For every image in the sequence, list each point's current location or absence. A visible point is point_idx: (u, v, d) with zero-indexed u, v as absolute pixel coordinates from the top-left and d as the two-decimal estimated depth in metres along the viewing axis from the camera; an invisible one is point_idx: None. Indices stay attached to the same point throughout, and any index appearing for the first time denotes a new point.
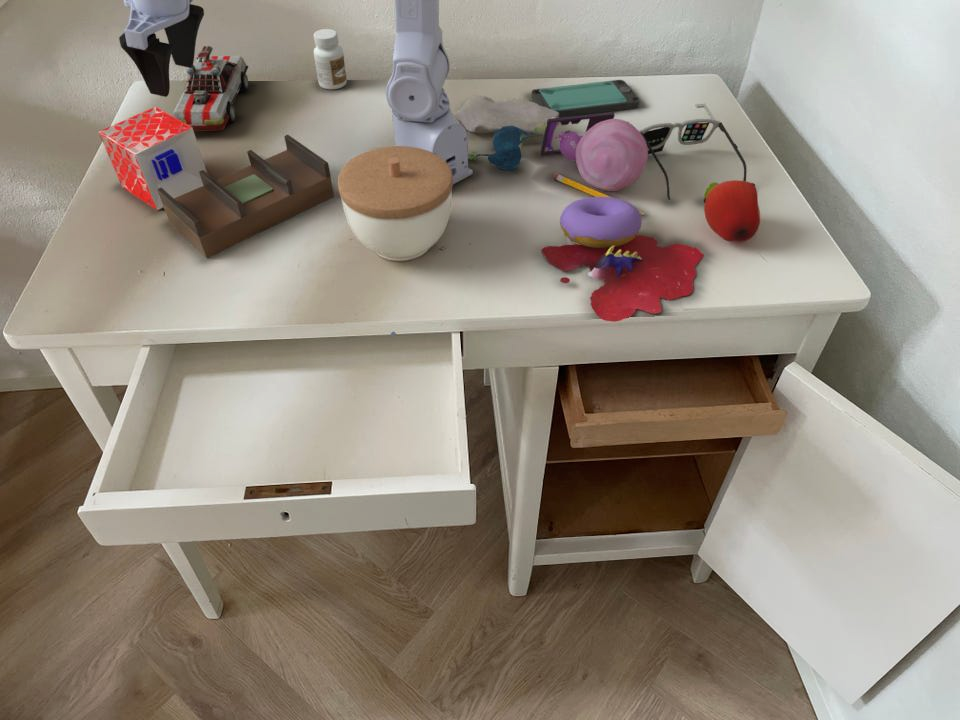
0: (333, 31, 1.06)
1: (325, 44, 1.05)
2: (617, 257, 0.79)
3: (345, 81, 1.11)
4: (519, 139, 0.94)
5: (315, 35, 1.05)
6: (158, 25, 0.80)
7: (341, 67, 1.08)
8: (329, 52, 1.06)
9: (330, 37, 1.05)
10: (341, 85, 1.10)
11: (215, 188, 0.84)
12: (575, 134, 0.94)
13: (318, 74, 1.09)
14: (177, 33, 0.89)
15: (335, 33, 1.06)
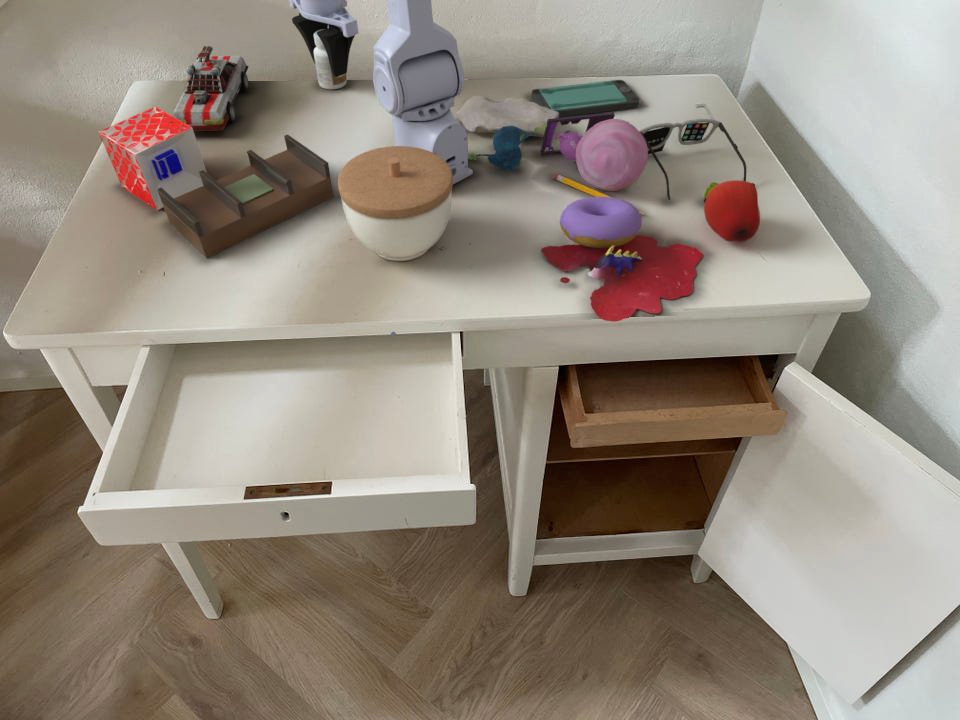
0: None
1: None
2: (617, 257, 0.79)
3: (345, 81, 1.11)
4: (519, 139, 0.94)
5: (315, 35, 1.05)
6: (294, 1, 1.04)
7: None
8: None
9: None
10: (341, 85, 1.10)
11: (215, 188, 0.84)
12: (575, 134, 0.94)
13: (318, 74, 1.09)
14: None
15: None
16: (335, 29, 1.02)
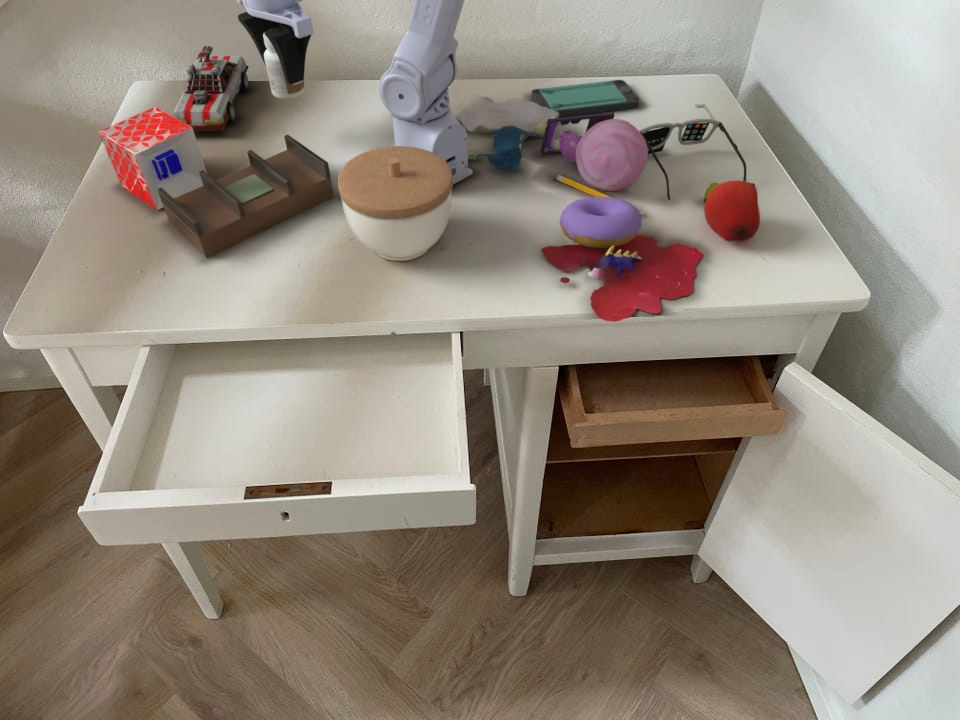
0: None
1: None
2: (617, 257, 0.79)
3: (302, 89, 0.94)
4: (519, 139, 0.94)
5: (264, 35, 0.89)
6: None
7: None
8: None
9: None
10: (297, 94, 0.94)
11: (215, 188, 0.84)
12: (575, 134, 0.94)
13: (270, 81, 0.93)
14: None
15: None
16: (286, 28, 0.85)
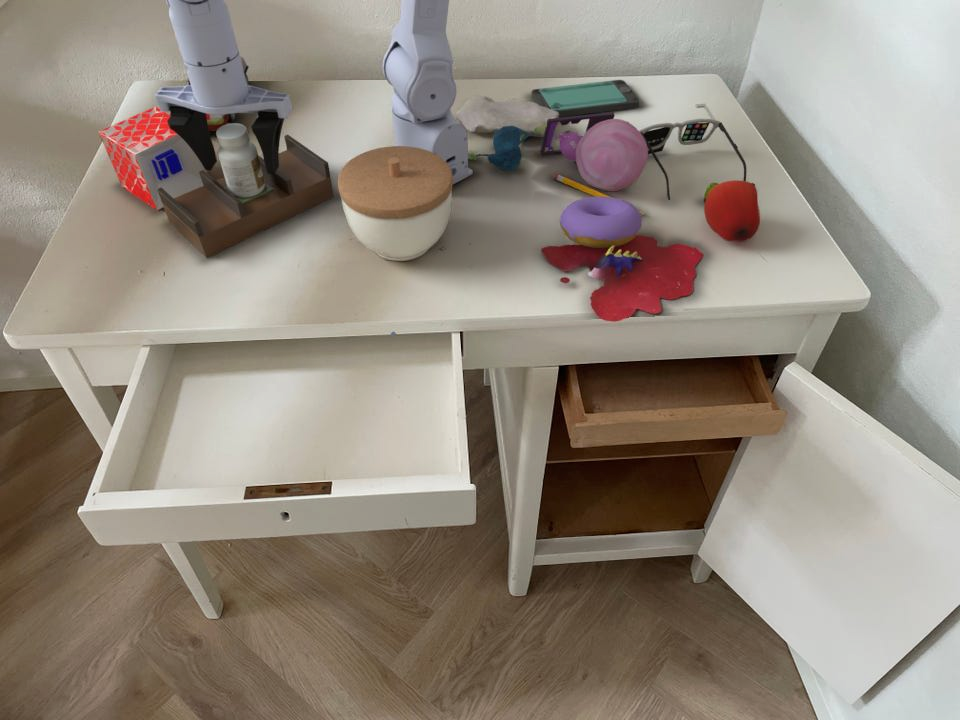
0: (237, 124, 0.82)
1: (242, 143, 0.81)
2: (617, 257, 0.79)
3: (263, 179, 0.87)
4: (519, 139, 0.94)
5: (222, 137, 0.80)
6: (177, 100, 0.77)
7: None
8: (246, 151, 0.82)
9: (243, 132, 0.81)
10: (264, 185, 0.86)
11: (215, 188, 0.84)
12: (575, 134, 0.94)
13: (235, 183, 0.84)
14: None
15: (242, 126, 0.82)
16: (273, 115, 0.78)
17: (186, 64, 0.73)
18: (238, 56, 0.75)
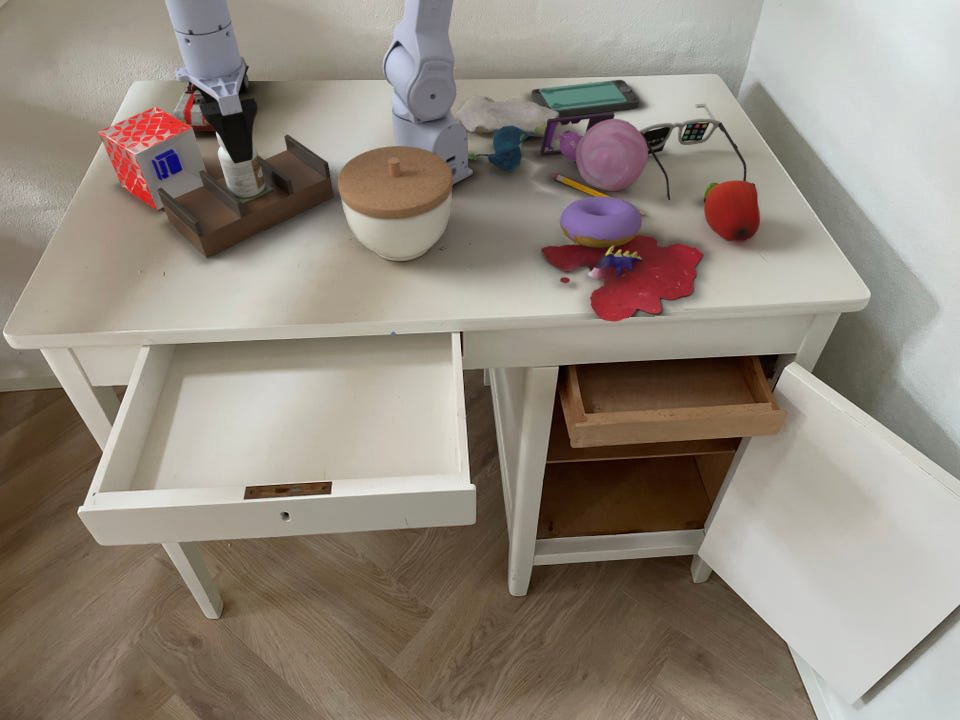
0: None
1: None
2: (617, 257, 0.79)
3: (263, 179, 0.87)
4: (519, 139, 0.94)
5: None
6: (238, 82, 0.73)
7: None
8: None
9: None
10: (264, 185, 0.86)
11: (215, 188, 0.84)
12: (575, 134, 0.94)
13: (235, 183, 0.84)
14: None
15: None
16: None
17: (227, 28, 0.72)
18: None
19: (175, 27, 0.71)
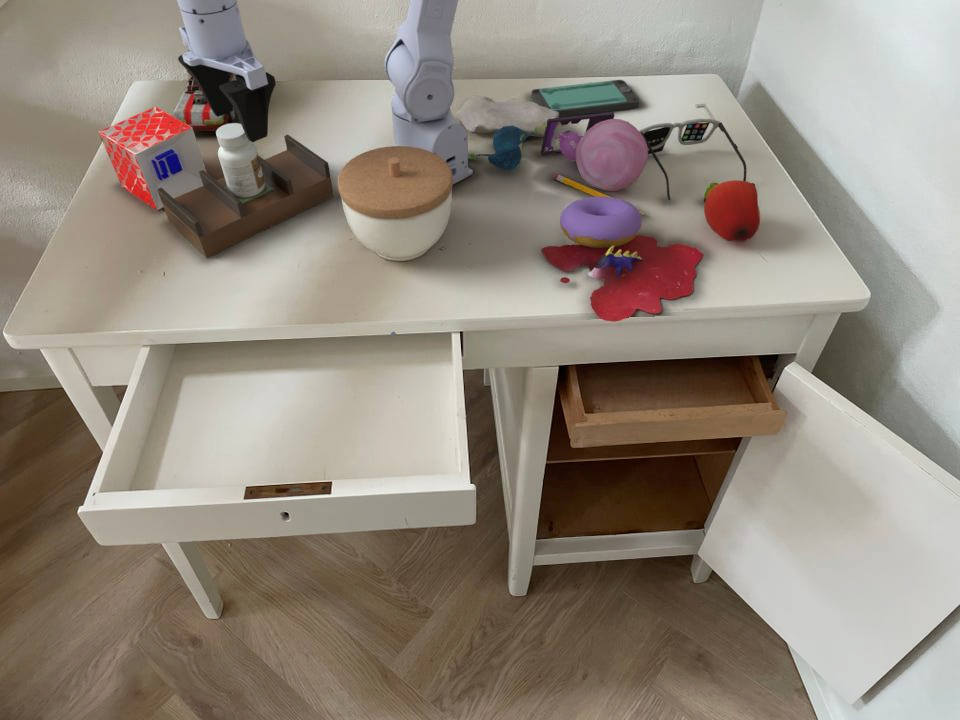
0: (236, 124, 0.82)
1: (242, 143, 0.81)
2: (617, 257, 0.79)
3: (263, 179, 0.87)
4: (519, 139, 0.94)
5: (222, 136, 0.80)
6: None
7: None
8: (246, 151, 0.82)
9: (243, 132, 0.81)
10: (264, 185, 0.86)
11: (215, 188, 0.84)
12: (575, 134, 0.94)
13: (235, 183, 0.84)
14: (213, 80, 0.81)
15: None
16: None
17: (236, 4, 0.73)
18: None
19: (180, 6, 0.71)
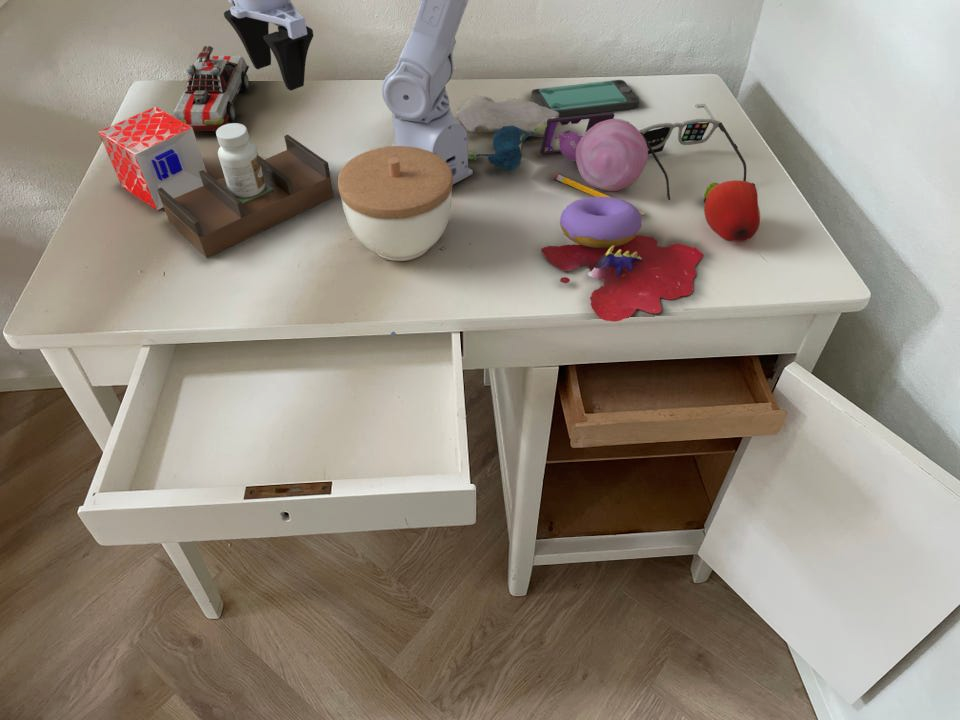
0: (236, 124, 0.82)
1: (242, 143, 0.81)
2: (617, 257, 0.79)
3: (263, 179, 0.87)
4: (519, 139, 0.94)
5: (222, 136, 0.80)
6: (296, 10, 0.83)
7: None
8: (246, 151, 0.82)
9: (243, 132, 0.81)
10: (264, 185, 0.86)
11: (215, 188, 0.84)
12: (575, 134, 0.94)
13: (235, 183, 0.84)
14: (254, 34, 0.89)
15: (242, 125, 0.82)
16: None
17: None
18: None
19: None
